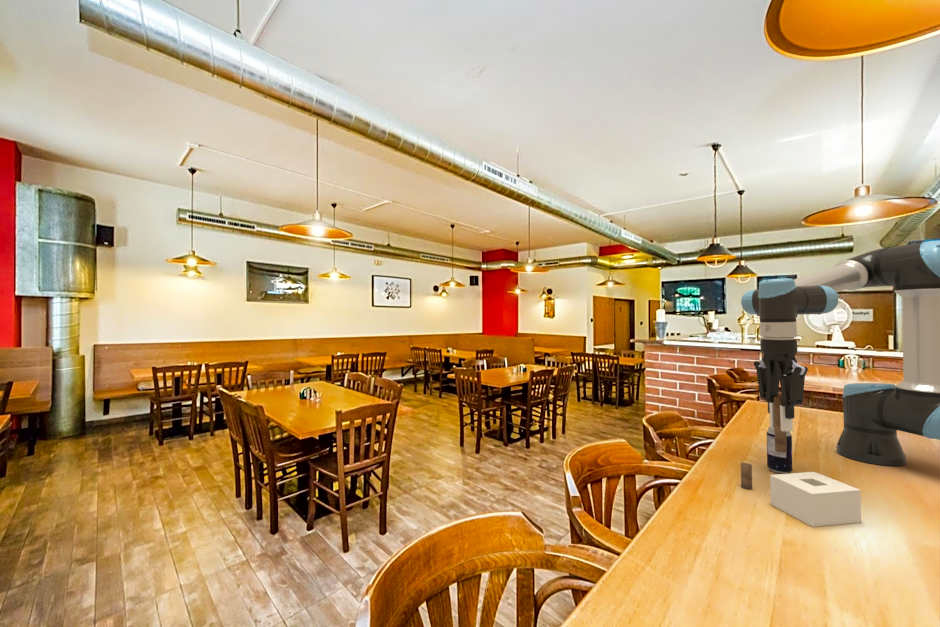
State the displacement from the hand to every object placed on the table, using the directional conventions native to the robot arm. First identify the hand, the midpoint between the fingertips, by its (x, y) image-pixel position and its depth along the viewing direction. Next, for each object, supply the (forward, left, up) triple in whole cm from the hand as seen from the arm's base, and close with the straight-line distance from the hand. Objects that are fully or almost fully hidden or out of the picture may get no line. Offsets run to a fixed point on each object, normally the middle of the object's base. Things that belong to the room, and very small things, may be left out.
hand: (781, 428), depth 101 cm
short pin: (+9, -2, -15) cm, 18 cm away
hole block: (+5, +12, -15) cm, 20 cm away
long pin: (0, 0, -6) cm, 6 cm away
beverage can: (-9, -10, -16) cm, 21 cm away
